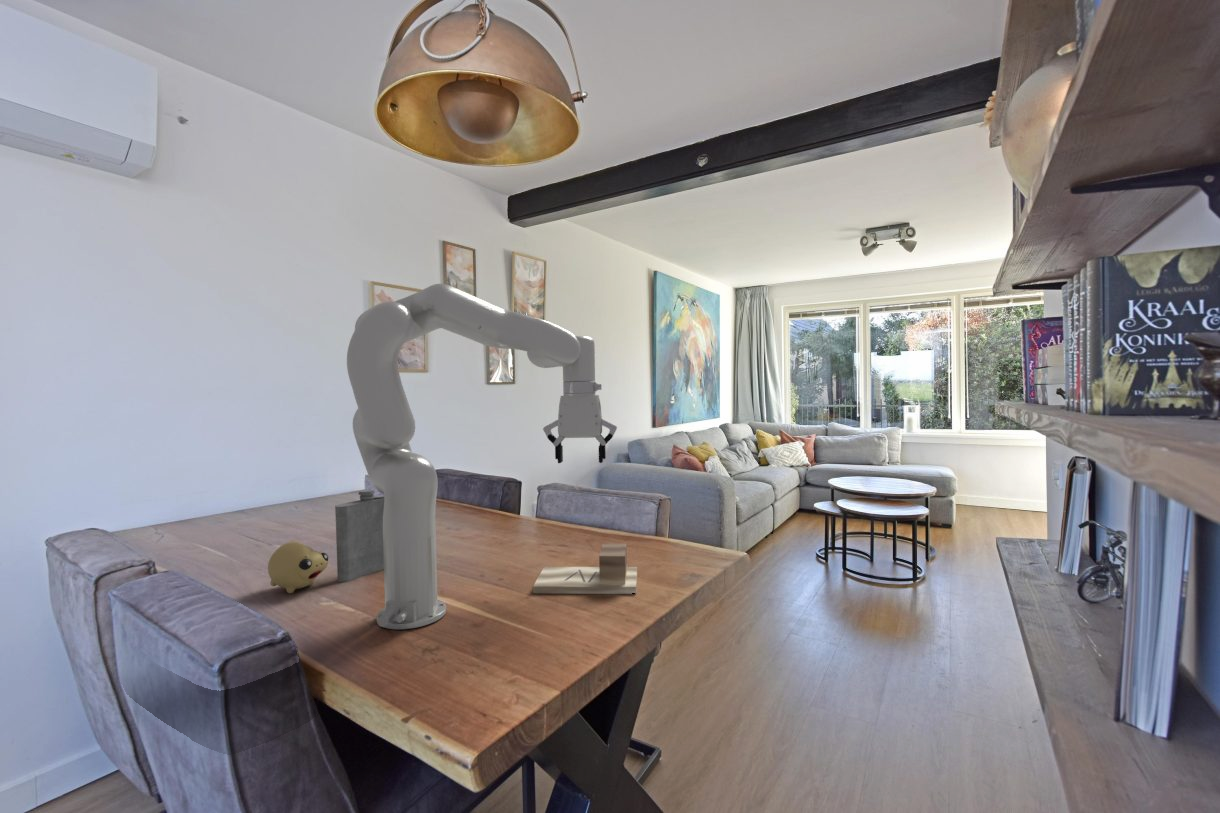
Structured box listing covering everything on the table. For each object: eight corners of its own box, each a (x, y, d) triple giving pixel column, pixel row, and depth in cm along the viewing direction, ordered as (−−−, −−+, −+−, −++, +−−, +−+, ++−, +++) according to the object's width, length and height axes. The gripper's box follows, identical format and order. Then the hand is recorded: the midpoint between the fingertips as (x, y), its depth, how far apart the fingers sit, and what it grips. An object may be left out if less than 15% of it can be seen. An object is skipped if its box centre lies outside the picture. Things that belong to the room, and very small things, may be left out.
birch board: (636, 593, 116) (636, 586, 116) (533, 593, 117) (532, 586, 117) (637, 573, 129) (637, 566, 128) (544, 573, 130) (544, 566, 130)
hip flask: (342, 583, 126) (339, 496, 125) (333, 579, 128) (330, 494, 128) (403, 564, 139) (401, 485, 138) (394, 561, 141) (391, 484, 140)
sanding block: (625, 584, 117) (624, 556, 117) (599, 583, 118) (599, 556, 117) (626, 568, 127) (626, 543, 127) (603, 568, 128) (602, 543, 127)
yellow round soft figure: (302, 600, 116) (300, 550, 115) (258, 594, 119) (256, 546, 119) (337, 584, 125) (336, 537, 125) (296, 579, 129) (294, 534, 128)
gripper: (617, 388, 132) (618, 460, 132) (545, 390, 133) (547, 460, 133) (615, 388, 124) (616, 464, 125) (539, 390, 125) (541, 464, 126)
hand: (580, 462), depth 129 cm, fingers open, 9 cm apart
